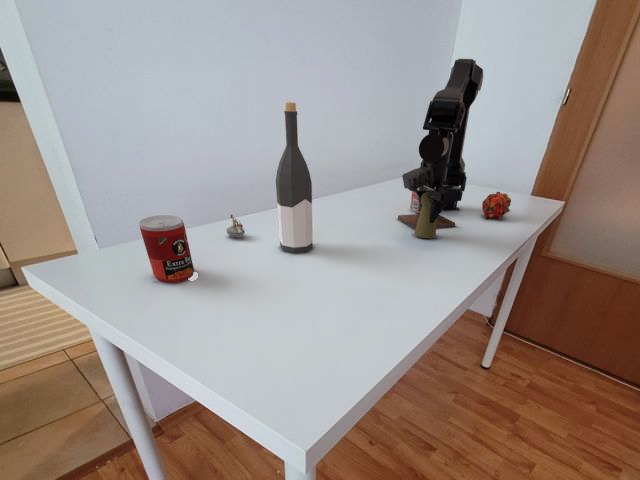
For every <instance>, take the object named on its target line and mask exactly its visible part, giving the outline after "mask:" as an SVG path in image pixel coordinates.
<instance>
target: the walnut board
mask: <svg viewBox="0 0 640 480" xmlns="http://www.w3.org/2000/svg"><path fill="white" fill-rule="evenodd" d="M419 215H420V213H413V214H412V213H411V214H398V215H397V220H398V221H400V222H401V223H403V224H404V225H406V226H407V227H409V228H410V229H412V230H414V231H415V229H416V226H417V222H418V219H419ZM454 227H456V222H455V221H453V220H451V219H449V218H447V217H445V216H443V215H441V214H439V216H438V217H437V222H436V229H445V228H446V229H447V228H454Z"/></svg>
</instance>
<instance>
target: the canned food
mask: <svg viewBox="0 0 640 480" xmlns="http://www.w3.org/2000/svg"><path fill="white" fill-rule="evenodd" d="M138 225H139V229H140V234H141V237H142V240H143V243H144V247H145V250H146V254H147V258H148V260H149V263H150V267H151V270H152V274H153V276H154V278H155V279H156V280H157V281H159V282H162V283H167V284H169V283H170V284H173V283H174V284H175V283H180V282H184V281H187V280H189V279H191V278H192V277H193V276H194V271H195V268H194V263H193V259H192V253H191V249H190V245H189V240H188V236H187V230H186V227H185V223H184V220H183V218H182V217H180V216H176V215H168V214H164V215H163V214H161V215H160V214H159V215H151V216H148V217H145V218H142V219H140V220H139V221H138Z"/></svg>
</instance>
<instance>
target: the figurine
mask: <svg viewBox="0 0 640 480" xmlns="http://www.w3.org/2000/svg"><path fill="white" fill-rule="evenodd" d="M230 219H231V220H232V221H231V222H232V225H231V226H228V227H227V228H226V229H225V230H226V234H227V235H228V237H229V238H242V237H244V234H245V232H246V230H245V228H244V226H243V224H242V223H241V220H239V221H238V220H237V218H235V217H234V215H233V214H232V213H231V214H230Z"/></svg>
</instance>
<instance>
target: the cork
mask: <svg viewBox="0 0 640 480" xmlns="http://www.w3.org/2000/svg"><path fill="white" fill-rule="evenodd" d="M433 194H434V193H433V192H427V193H424V194H423V195H422V197H421V204H422V208H421V211H420V213H419V214H420V215H419V219H418V222H417V226H416V229H415V230H414V236H416V237H418V238H422V239H433V238H436V236H437V228H436V222H437V219H436V220H435V222H434V223H430V208H431V203H430V201H429V199H428V198H427V197H434V195H433Z"/></svg>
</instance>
